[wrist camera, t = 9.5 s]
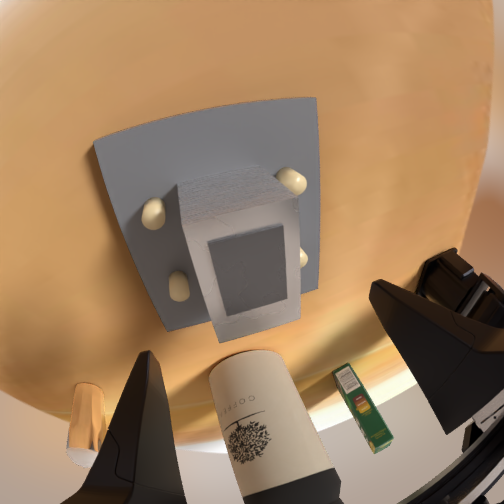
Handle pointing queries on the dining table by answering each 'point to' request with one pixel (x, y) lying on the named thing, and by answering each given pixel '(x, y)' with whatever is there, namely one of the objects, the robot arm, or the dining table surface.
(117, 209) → the pin tray
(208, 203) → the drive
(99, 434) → the milkshake
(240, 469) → the travel mug
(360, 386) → the coffee box
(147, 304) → the dining table surface
